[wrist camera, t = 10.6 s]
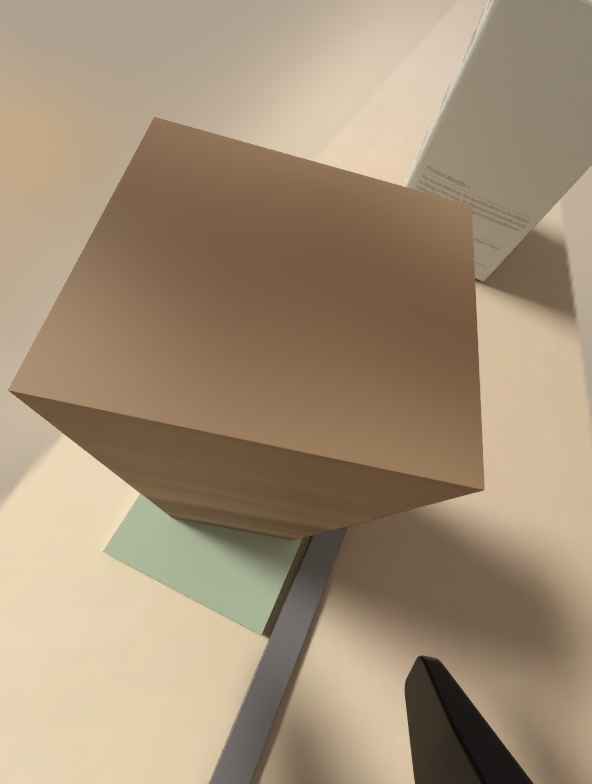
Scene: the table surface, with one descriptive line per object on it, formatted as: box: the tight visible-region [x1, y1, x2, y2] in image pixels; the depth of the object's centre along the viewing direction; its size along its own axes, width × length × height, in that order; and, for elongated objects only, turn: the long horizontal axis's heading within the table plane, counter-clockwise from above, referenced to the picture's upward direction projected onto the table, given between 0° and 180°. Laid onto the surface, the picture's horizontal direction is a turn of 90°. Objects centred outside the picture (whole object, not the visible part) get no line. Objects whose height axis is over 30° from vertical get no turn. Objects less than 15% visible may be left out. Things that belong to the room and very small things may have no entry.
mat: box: [103, 494, 303, 635], centre depth 17 cm, size 10×7×1 cm
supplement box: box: [403, 0, 592, 281], centre depth 20 cm, size 7×7×13 cm
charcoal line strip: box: [209, 526, 348, 784], centre depth 17 cm, size 22×1×1 cm, turn 155°
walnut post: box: [8, 117, 485, 541], centre depth 11 cm, size 4×5×13 cm
